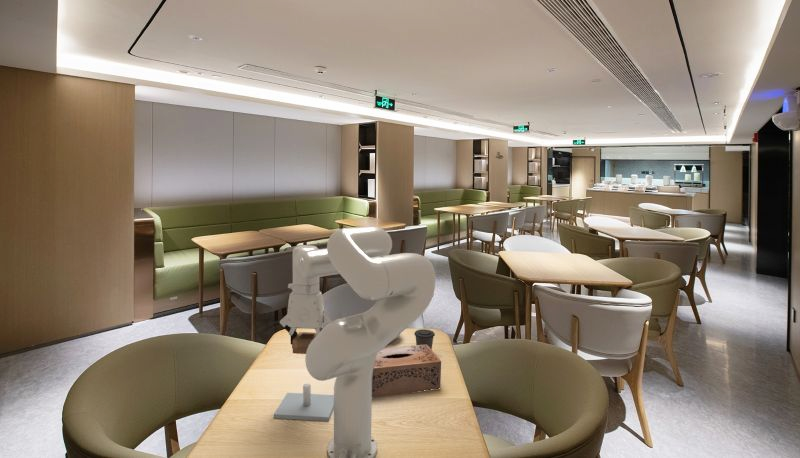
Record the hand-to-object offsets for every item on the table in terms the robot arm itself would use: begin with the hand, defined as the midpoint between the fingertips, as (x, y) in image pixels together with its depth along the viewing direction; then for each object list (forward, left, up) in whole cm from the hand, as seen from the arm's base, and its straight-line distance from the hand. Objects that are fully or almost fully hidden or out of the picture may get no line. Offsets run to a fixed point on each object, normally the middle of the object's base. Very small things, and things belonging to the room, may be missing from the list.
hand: (306, 346), depth 122 cm
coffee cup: (+41, -35, -20) cm, 57 cm away
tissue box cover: (+18, -26, -20) cm, 37 cm away
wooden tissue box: (0, 0, -1) cm, 1 cm away
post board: (0, 0, -19) cm, 19 cm away
